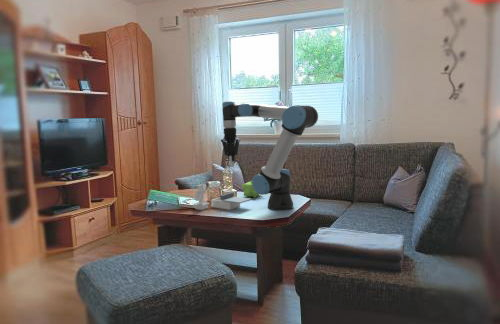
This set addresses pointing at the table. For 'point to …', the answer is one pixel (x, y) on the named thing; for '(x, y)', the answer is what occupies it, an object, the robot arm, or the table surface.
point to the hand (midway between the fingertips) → (231, 166)
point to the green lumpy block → (249, 190)
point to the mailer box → (223, 204)
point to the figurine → (200, 198)
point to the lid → (232, 198)
